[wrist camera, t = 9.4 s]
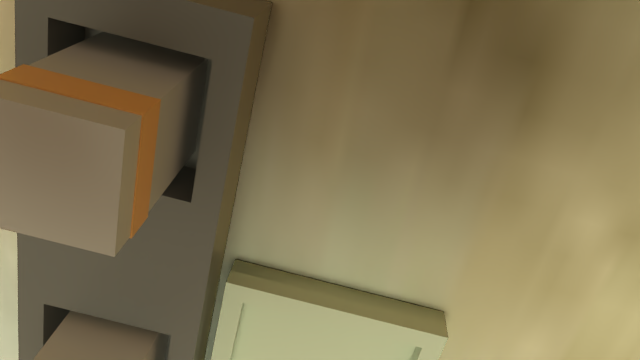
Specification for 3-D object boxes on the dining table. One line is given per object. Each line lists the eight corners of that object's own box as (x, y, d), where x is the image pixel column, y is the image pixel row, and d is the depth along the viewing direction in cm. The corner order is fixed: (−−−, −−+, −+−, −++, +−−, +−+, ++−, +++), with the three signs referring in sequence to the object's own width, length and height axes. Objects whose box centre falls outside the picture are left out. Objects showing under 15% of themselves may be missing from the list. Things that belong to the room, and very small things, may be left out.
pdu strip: (272, 2, 19) (211, 56, 12) (194, 412, 28) (133, 577, 21) (67, -52, 19) (-114, -29, 12) (54, 378, 27) (-53, 533, 21)
